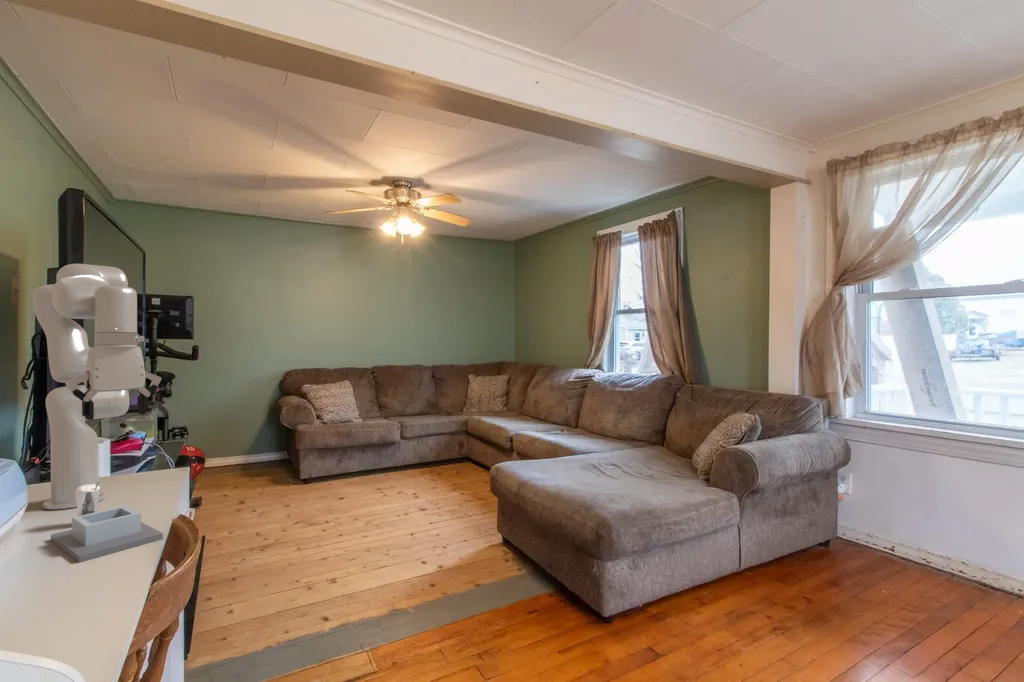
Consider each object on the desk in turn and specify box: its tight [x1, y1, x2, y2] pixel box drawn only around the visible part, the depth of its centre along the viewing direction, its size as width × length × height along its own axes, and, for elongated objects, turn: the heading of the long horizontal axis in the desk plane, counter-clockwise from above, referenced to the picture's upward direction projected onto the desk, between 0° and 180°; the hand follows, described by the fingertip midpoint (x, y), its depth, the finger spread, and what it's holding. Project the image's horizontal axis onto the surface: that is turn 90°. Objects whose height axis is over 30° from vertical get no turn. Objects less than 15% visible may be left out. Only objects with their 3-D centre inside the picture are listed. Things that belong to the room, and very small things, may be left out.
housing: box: [50, 505, 164, 563], centre depth 107 cm, size 20×14×5 cm
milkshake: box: [75, 481, 101, 516], centre depth 117 cm, size 5×5×10 cm
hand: (116, 416), depth 112 cm, fingers open, 9 cm apart
